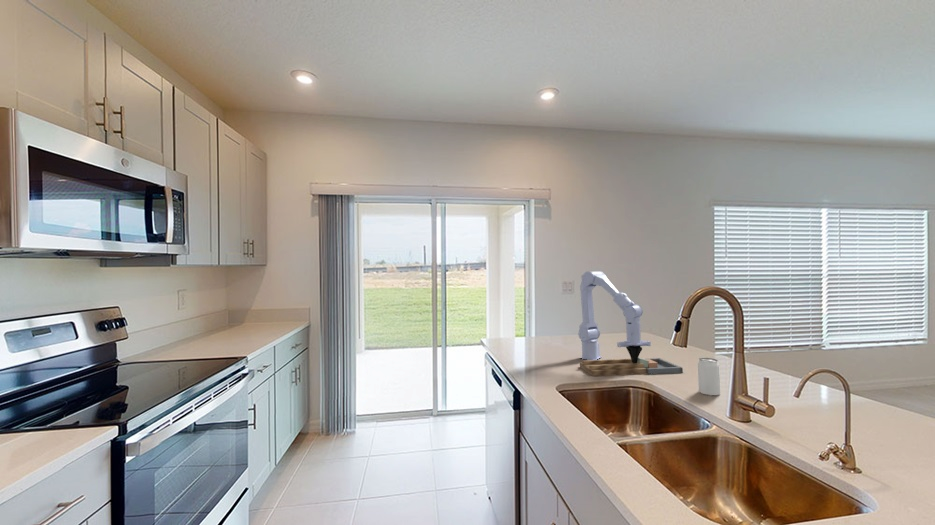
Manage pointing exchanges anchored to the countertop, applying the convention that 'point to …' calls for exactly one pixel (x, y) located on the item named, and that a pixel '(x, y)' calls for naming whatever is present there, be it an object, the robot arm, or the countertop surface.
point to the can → (708, 376)
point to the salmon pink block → (652, 364)
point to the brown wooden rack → (612, 367)
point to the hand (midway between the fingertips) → (634, 362)
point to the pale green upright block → (643, 361)
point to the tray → (664, 367)
